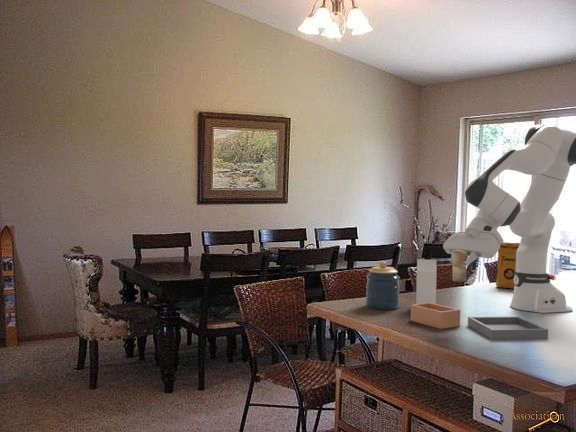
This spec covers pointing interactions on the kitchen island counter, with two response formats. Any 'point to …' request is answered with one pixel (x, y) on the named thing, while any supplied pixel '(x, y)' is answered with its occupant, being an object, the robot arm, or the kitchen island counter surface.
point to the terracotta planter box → (435, 315)
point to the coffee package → (506, 265)
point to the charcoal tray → (507, 328)
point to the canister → (382, 288)
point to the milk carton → (426, 281)
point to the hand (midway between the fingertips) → (458, 263)
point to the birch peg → (459, 265)
